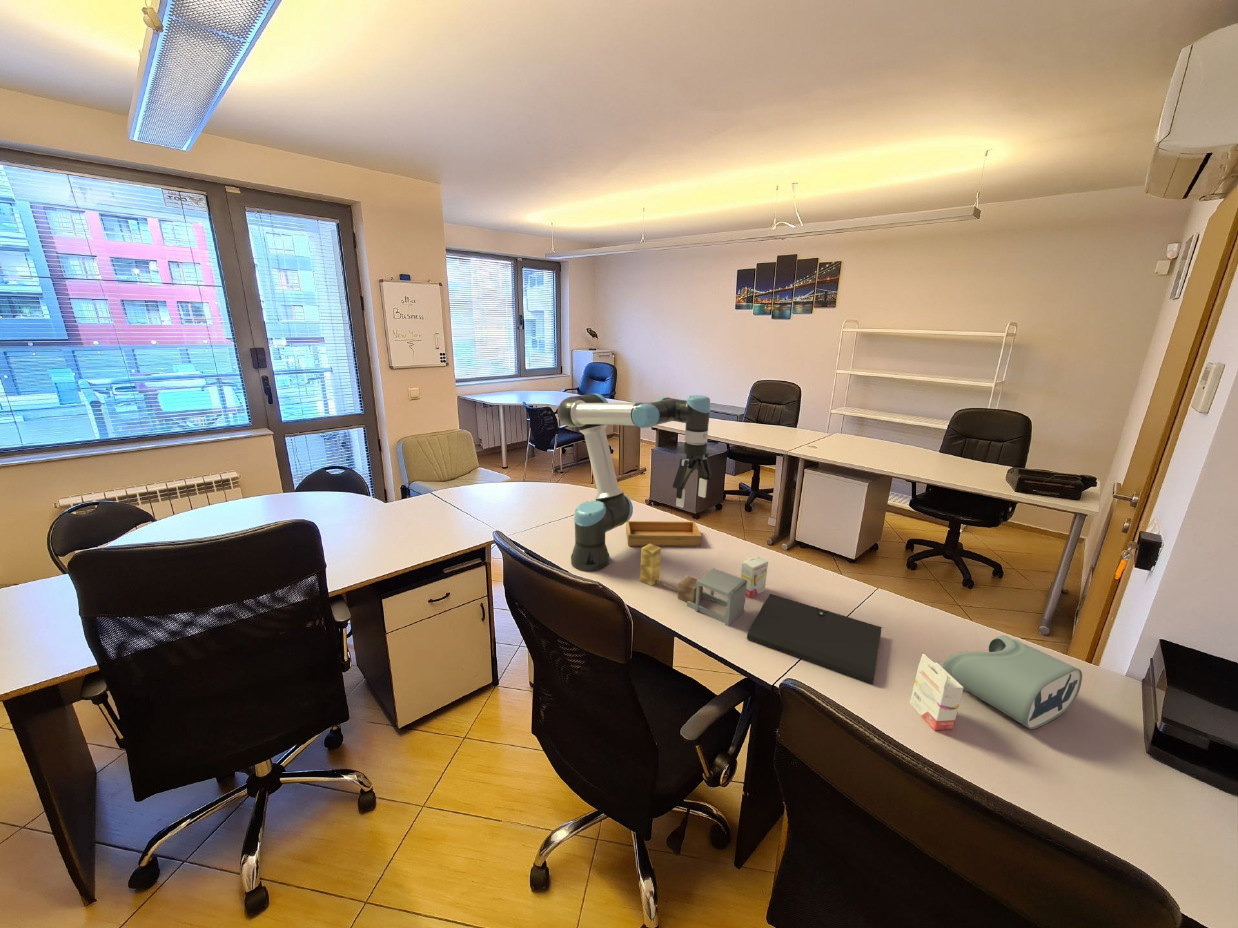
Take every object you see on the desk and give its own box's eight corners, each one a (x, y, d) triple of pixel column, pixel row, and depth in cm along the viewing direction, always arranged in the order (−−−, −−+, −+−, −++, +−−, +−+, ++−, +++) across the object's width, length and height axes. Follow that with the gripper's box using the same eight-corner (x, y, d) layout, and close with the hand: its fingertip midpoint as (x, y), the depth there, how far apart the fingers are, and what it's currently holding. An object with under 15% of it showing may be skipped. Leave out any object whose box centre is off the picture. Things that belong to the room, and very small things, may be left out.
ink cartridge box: (954, 729, 107) (968, 676, 103) (934, 731, 106) (947, 677, 102) (927, 701, 115) (939, 651, 111) (908, 702, 114) (920, 651, 110)
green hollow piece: (1022, 738, 105) (1034, 689, 101) (937, 684, 121) (945, 641, 118) (1074, 708, 113) (1087, 663, 110) (988, 662, 130) (997, 621, 127)
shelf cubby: (685, 606, 153) (687, 577, 149) (702, 593, 161) (704, 564, 158) (727, 626, 143) (730, 594, 140) (744, 610, 151) (747, 580, 148)
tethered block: (639, 581, 167) (640, 548, 164) (649, 575, 172) (650, 543, 168) (693, 604, 154) (695, 569, 150) (702, 597, 158) (704, 563, 154)
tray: (693, 532, 210) (694, 520, 208) (700, 547, 196) (701, 534, 194) (626, 532, 209) (626, 520, 207) (628, 547, 194) (628, 535, 193)
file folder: (882, 625, 138) (874, 675, 119) (879, 637, 140) (871, 688, 120) (770, 592, 155) (747, 630, 136) (768, 602, 156) (746, 642, 137)
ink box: (749, 598, 158) (753, 567, 154) (738, 592, 162) (741, 561, 158) (765, 590, 163) (769, 560, 159) (754, 584, 166) (757, 554, 163)
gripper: (683, 451, 144) (679, 514, 150) (724, 438, 162) (719, 495, 168) (664, 446, 149) (660, 508, 155) (706, 434, 166) (701, 490, 173)
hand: (691, 501), depth 161 cm, fingers open, 13 cm apart
